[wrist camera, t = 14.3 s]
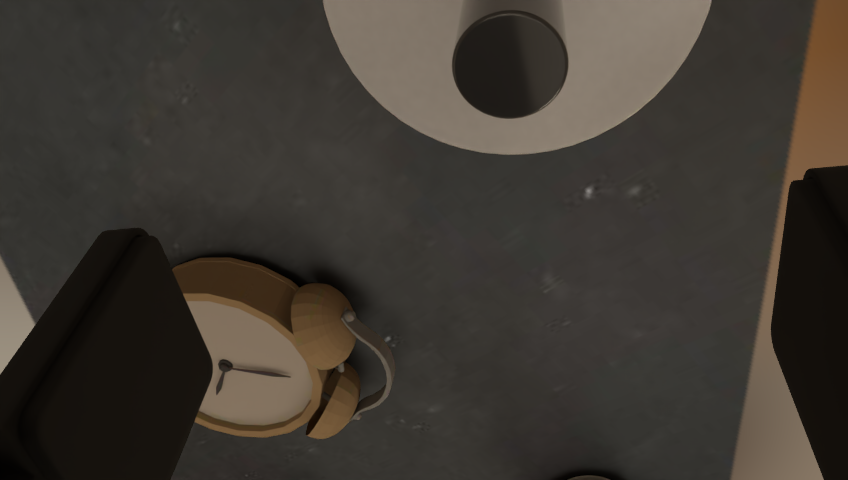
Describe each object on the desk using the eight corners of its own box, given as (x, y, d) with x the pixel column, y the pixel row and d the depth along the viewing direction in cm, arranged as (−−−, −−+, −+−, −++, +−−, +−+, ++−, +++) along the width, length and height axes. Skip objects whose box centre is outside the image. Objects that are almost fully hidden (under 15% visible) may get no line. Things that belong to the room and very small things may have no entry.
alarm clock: (100, 279, 41) (373, 336, 37) (152, 225, 44) (403, 273, 41) (145, 421, 47) (379, 480, 44) (187, 364, 51) (405, 414, 48)
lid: (249, -64, 23) (166, 20, 18) (570, -367, 18) (589, -375, 13) (475, 193, 27) (463, 321, 22) (781, 8, 22) (859, 116, 17)
